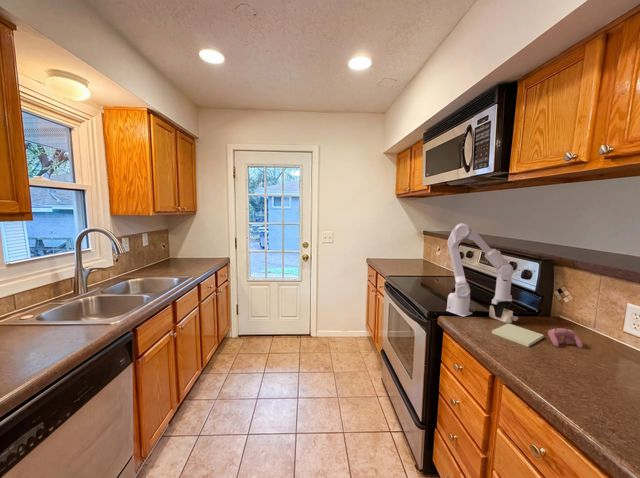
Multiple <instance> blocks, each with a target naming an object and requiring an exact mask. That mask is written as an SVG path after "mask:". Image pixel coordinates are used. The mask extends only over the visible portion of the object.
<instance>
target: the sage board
mask: <svg viewBox="0 0 640 478" xmlns="http://www.w3.org/2000/svg"><path fill="white" fill-rule="evenodd" d="M491 334H493V335H494V336H495V335H496V336H498V337H501V338H503V339H506V340H508V341H510V342H514V343H517V344H519V345H522V346H525V347H527V348H529V347H531V346H532V345H534V344H536V343H537V342H539V341H540V340H543V339H544V338H545V337H544V334H542V333H539V332H535V331H533V330H530V329H527V328H524V327H521V326H518V325H514V324H512V323H505V324H503V325H500V326H498V327H497V328H494V329H492V330H491Z"/></svg>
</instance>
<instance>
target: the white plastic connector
mask: <svg viewBox="0 0 640 478" xmlns="http://www.w3.org/2000/svg"><path fill="white" fill-rule="evenodd" d="M488 312H489V313H488V317H489V318H491V319H495V320H497V321H500V322H503V323H505V324H508V323H509V324H512V323H513V321H514V322H516V321H519V316H515V315H514V314H513V313H514V311H513V310H510V309H509V308H508V309H503V313H502V316H501V318H498V317H496V316H495V311H494V307H493V305H489V311H488Z"/></svg>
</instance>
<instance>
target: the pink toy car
mask: <svg viewBox="0 0 640 478" xmlns="http://www.w3.org/2000/svg"><path fill="white" fill-rule="evenodd" d="M547 336H548V337H549V339H550V341H551V343H552V344H553V346H554V347H557V348H558V347H559V346H560V344H563V343H564V344H566V345H571V343H572V342H573V343H574V344H575V345H576V346H577V347H578V348H579V349H582V348H583V346H584V345H583V342H582V340H581V339H580V337H579V336H578V334H577V333H576V332H575V331H574V330H573V329H568V328H562V327H560V328H559V327H557V328H552V329H549V330H548V331H547ZM562 337H563V338H562Z"/></svg>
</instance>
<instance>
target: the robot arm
mask: <svg viewBox="0 0 640 478" xmlns="http://www.w3.org/2000/svg"><path fill="white" fill-rule="evenodd" d="M465 238H466V239H467V240H470V241H473V242H474V243H475V244H476V245H477V246H478V247H479V248H480V249H481V250H482V252H483V253H484V258H485V259H486V260H487V261H488V262H489V264H491V265H492V267H493V268H495V269H496V271H497V275H496V276H497V277H496V280H495V282H496V283H495V292H494V296H493V298H492V299H491V306H493V307H494V311H495V316H496V317H498V318H501V316H502V313H503V309H508V310H509V309H510V307H511V305H512V304H513V299H512V297H513V296H512V295H511V289H512V288H511V287H512V277H513V274H514V273H515V270H514V267H513V266H512V265H511V264H510V262H509V260H508V258H505V257H504V256H503V255H502V254H501V253H502V252H501V251H500V250H497V249H496V248H491V247H490V246H489V244H487V243H486V241H485V240H484V239H483V238H482V237H481V236H480V235H479V234H478V232H477V231H475V230H474V229H472V227H469V225H468V224H466V223H464V222H463V223H462V222H460V223H458V224H456V225H455V226H454V227H453V228H452V230H451V232H450V235H449V236H448V239H447V241H446V243H447V247H448V252H449V256H450V261H451V266H452V271H453V275H454V280H455V284H454V288H455V291H454V292H451V293H449V294H448V296H447V302H446V303H447V304H446V309H445V311H446V312H449V313H452V314H455V315H458V316H459V317H464V318H465V317H467V316H470V315H473V312H472V311H470V303H471V295H470V294H471V288H470V284H469V282H468V281H467V280H466V275H465V271H464V267H463V262H462V258H461V253H460V248H459V244H460V243H461V242H462V240H464V239H465Z"/></svg>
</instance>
